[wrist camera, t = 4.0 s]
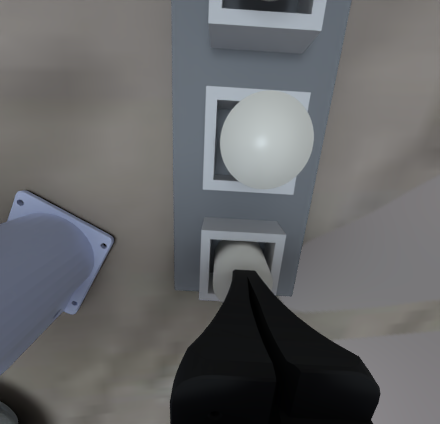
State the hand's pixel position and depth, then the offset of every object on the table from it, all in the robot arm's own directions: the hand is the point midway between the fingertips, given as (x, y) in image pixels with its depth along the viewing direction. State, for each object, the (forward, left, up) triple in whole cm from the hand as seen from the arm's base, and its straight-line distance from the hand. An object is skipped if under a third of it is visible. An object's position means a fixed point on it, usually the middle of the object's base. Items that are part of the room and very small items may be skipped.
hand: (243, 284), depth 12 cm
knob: (0, 0, -3) cm, 3 cm away
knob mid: (+7, +4, -1) cm, 8 cm away
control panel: (+7, +4, -6) cm, 10 cm away
